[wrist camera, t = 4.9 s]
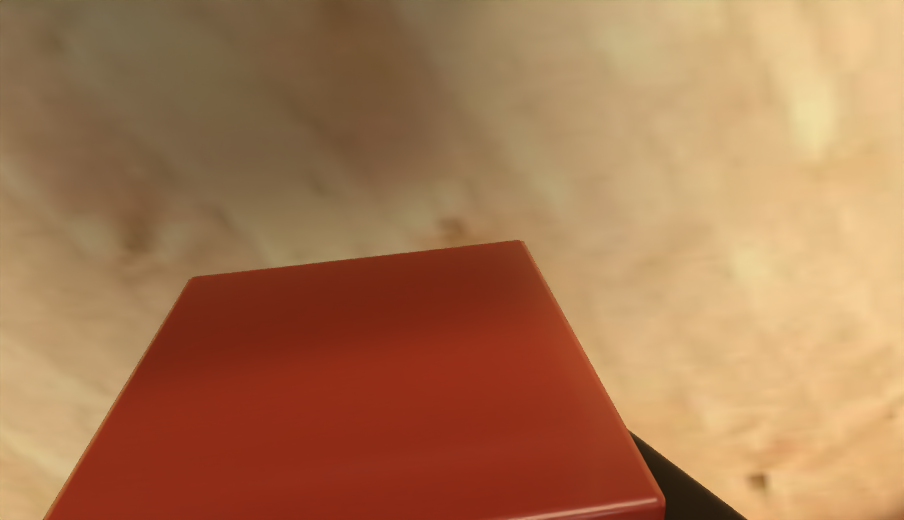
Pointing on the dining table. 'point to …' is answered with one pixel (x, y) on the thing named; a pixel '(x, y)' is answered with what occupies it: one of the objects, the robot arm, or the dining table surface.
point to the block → (365, 402)
